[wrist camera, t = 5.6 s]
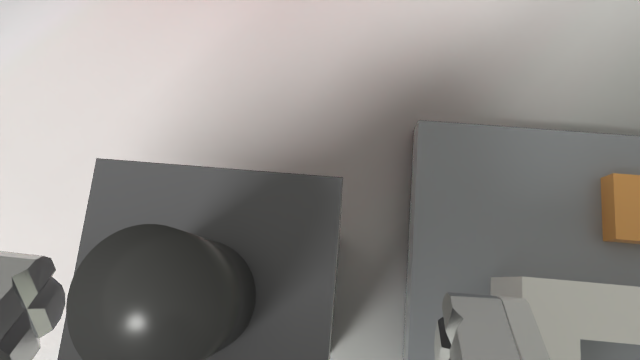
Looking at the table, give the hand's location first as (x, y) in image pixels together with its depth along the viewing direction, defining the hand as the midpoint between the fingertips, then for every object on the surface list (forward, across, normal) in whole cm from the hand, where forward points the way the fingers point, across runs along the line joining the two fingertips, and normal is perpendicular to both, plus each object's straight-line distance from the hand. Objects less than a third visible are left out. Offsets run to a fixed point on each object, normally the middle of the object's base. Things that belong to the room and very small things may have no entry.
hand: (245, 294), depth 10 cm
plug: (+4, 0, +4) cm, 6 cm away
